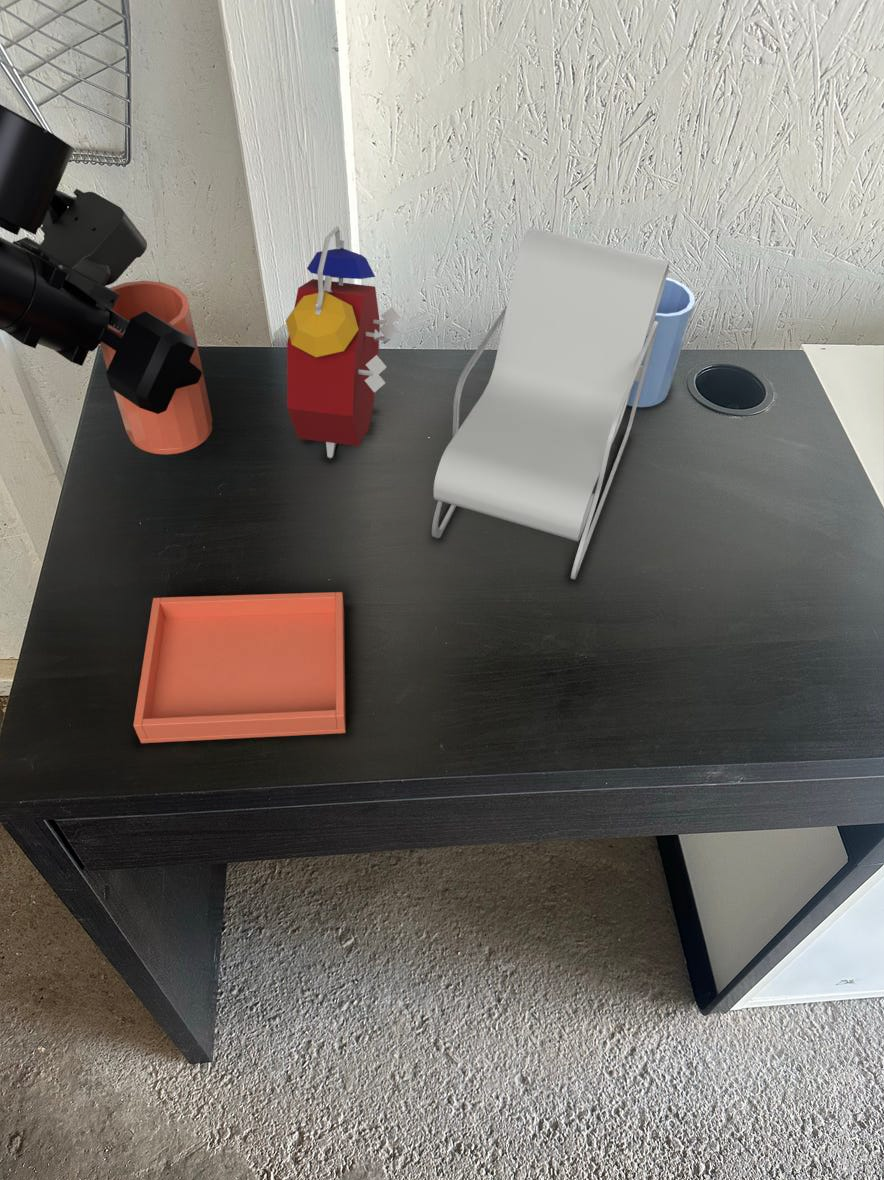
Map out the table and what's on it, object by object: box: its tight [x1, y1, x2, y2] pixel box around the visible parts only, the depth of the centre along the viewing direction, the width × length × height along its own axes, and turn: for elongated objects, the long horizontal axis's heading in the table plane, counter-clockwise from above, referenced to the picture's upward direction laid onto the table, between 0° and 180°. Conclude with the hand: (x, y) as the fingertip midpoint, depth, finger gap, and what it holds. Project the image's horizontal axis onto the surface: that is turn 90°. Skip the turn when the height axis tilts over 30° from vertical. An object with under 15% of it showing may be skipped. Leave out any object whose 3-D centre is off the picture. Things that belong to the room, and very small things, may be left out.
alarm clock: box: [285, 225, 401, 459], centre depth 82 cm, size 15×9×20 cm, turn 174°
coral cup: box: [99, 280, 214, 455], centre depth 75 cm, size 7×7×12 cm
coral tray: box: [132, 591, 347, 744], centre depth 70 cm, size 15×12×2 cm
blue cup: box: [626, 277, 696, 408], centre depth 93 cm, size 7×7×11 cm
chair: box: [431, 226, 671, 580], centre depth 79 cm, size 13×25×20 cm, turn 161°
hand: (167, 357), depth 75 cm, fingers closed on coral cup, 7 cm apart
